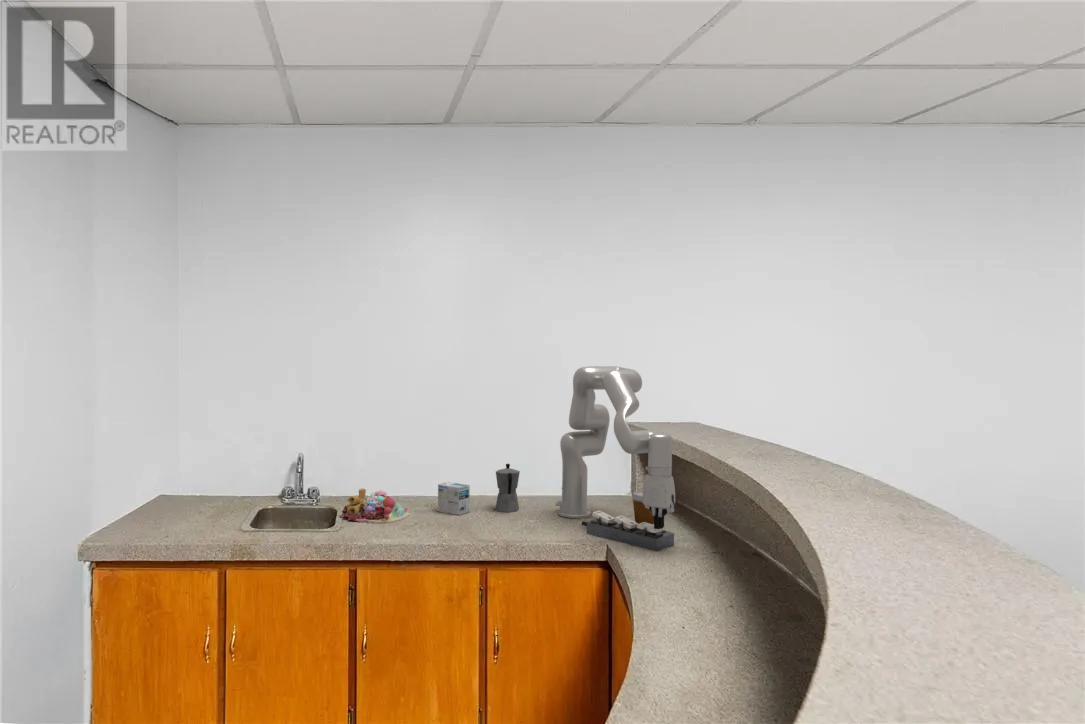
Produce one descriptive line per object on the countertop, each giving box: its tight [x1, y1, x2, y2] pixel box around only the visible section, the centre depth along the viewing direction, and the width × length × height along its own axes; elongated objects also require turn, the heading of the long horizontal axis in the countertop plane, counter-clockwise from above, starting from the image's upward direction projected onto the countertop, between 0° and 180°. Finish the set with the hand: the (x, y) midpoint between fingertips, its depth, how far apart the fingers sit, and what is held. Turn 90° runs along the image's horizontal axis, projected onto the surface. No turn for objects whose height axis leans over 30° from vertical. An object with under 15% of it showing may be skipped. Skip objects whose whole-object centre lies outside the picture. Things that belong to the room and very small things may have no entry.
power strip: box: [581, 518, 675, 552], centre depth 257 cm, size 35×10×6 cm, turn 47°
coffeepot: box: [494, 463, 521, 513], centre depth 292 cm, size 15×9×18 cm, turn 9°
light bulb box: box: [437, 481, 471, 516], centre depth 288 cm, size 11×7×11 cm, turn 58°
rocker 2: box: [614, 515, 638, 529], centre depth 253 cm, size 7×4×1 cm, turn 47°
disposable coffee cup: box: [631, 490, 654, 525], centre depth 271 cm, size 10×10×12 cm
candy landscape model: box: [340, 488, 410, 525], centre depth 281 cm, size 25×24×9 cm
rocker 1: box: [591, 510, 615, 523], centre depth 259 cm, size 7×4×1 cm, turn 47°
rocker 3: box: [637, 522, 663, 533], centre depth 246 cm, size 7×4×1 cm, turn 47°
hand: (658, 528), depth 244 cm, fingers closed
